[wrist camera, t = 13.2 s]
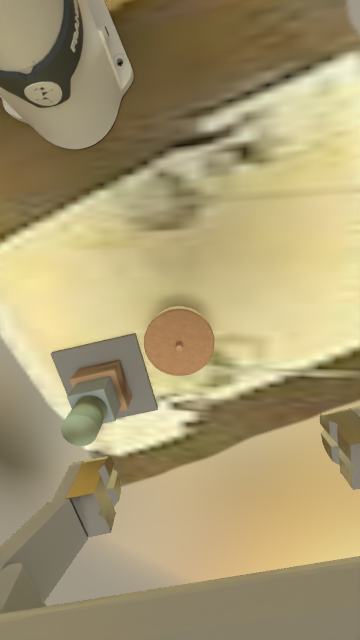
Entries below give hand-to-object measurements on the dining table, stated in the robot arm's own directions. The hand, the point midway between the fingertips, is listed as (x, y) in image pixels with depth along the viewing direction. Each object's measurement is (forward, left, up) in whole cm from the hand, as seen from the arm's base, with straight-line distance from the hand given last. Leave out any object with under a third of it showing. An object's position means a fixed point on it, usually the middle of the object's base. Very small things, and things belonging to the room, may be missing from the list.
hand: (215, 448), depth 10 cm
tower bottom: (+13, -19, -34) cm, 41 cm away
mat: (+13, -19, -35) cm, 42 cm away
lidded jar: (+6, -3, -35) cm, 36 cm away
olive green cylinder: (+13, -19, -26) cm, 35 cm away
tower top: (+13, -19, -30) cm, 38 cm away
